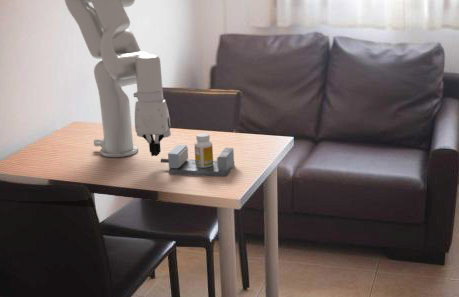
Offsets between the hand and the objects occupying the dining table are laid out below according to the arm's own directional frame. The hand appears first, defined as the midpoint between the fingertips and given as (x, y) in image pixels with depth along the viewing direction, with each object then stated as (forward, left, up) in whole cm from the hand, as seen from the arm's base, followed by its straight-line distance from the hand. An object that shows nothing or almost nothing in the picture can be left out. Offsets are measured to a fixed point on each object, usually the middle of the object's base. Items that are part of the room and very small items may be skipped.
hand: (155, 154), depth 211 cm
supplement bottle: (+15, 0, -3) cm, 16 cm away
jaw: (+5, 0, -3) cm, 6 cm away
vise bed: (+15, 0, -5) cm, 15 cm away
